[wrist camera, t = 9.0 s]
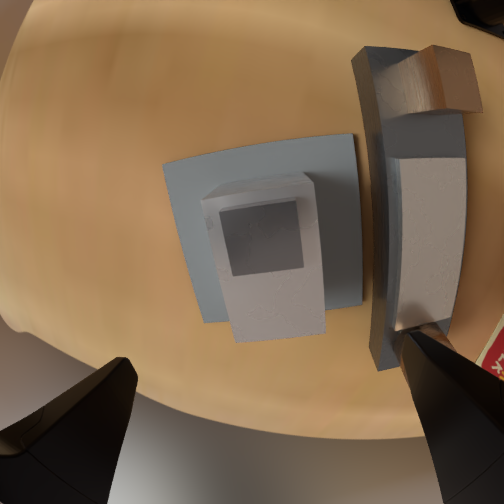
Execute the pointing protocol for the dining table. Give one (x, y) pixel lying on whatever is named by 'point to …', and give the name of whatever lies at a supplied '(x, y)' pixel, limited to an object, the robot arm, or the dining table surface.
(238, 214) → the grey metal block
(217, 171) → the rubber mat
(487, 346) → the milk carton
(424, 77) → the hand plane
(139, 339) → the dining table surface
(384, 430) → the dining table surface
